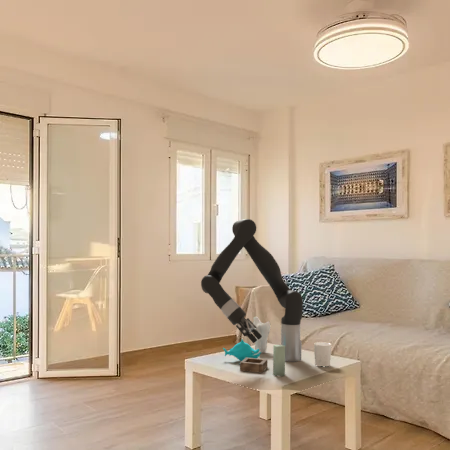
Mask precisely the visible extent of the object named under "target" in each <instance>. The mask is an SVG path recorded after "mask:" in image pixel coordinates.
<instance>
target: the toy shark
mask: <svg viewBox="0 0 450 450" xmlns="http://www.w3.org/2000/svg"><path fill="white" fill-rule="evenodd" d="M222 350H223V351H224V357H226V356H227V355H229V356H233V357H234V358H236V359H237V360H238V361H240V362H241V361H242V360H244V359H245V358H246V357H247V358H258V359H259V357H260V356H261V354H262V353H261V352H260V350H259V349H257V350H255V348H254V347H253V348H252V346H251V345H250V344H249V343H247V342H245V341H244V339H242V338H241V340H240V342H238V343H236V344H235V345H234V346H232V348H229V350H227V349H226V348H224V347H222Z"/></svg>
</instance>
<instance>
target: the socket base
mask: <svg viewBox="0 0 450 450" xmlns="http://www.w3.org/2000/svg"><path fill="white" fill-rule="evenodd" d="M266 369H268V358H259V357H258V358H247V357H246V358H245V359H244V360H242V361H241V360H240V362H239V371H240V372H241V371H243V372H253V373H264V372H265V370H266Z"/></svg>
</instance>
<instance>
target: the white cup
mask: <svg viewBox="0 0 450 450" xmlns="http://www.w3.org/2000/svg"><path fill="white" fill-rule="evenodd" d="M313 351H314V353H313V355H314V365H315V366H316V365H317V366H316V367H318V366H329V367H331V361H332V360H331V359H332V358H331V357H332V343H330V342H325V341H316V342H314V343H313Z"/></svg>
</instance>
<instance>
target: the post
mask: <svg viewBox="0 0 450 450" xmlns="http://www.w3.org/2000/svg"><path fill="white" fill-rule="evenodd" d="M272 349H273V350H272V351H273V354H272V355H273V357H272V358H273V359H272V361H273V362H272V375H273V376H276V377H284V376H285V375H286V361H285V346H284V345H281V344H275V345H273V347H272Z"/></svg>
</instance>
